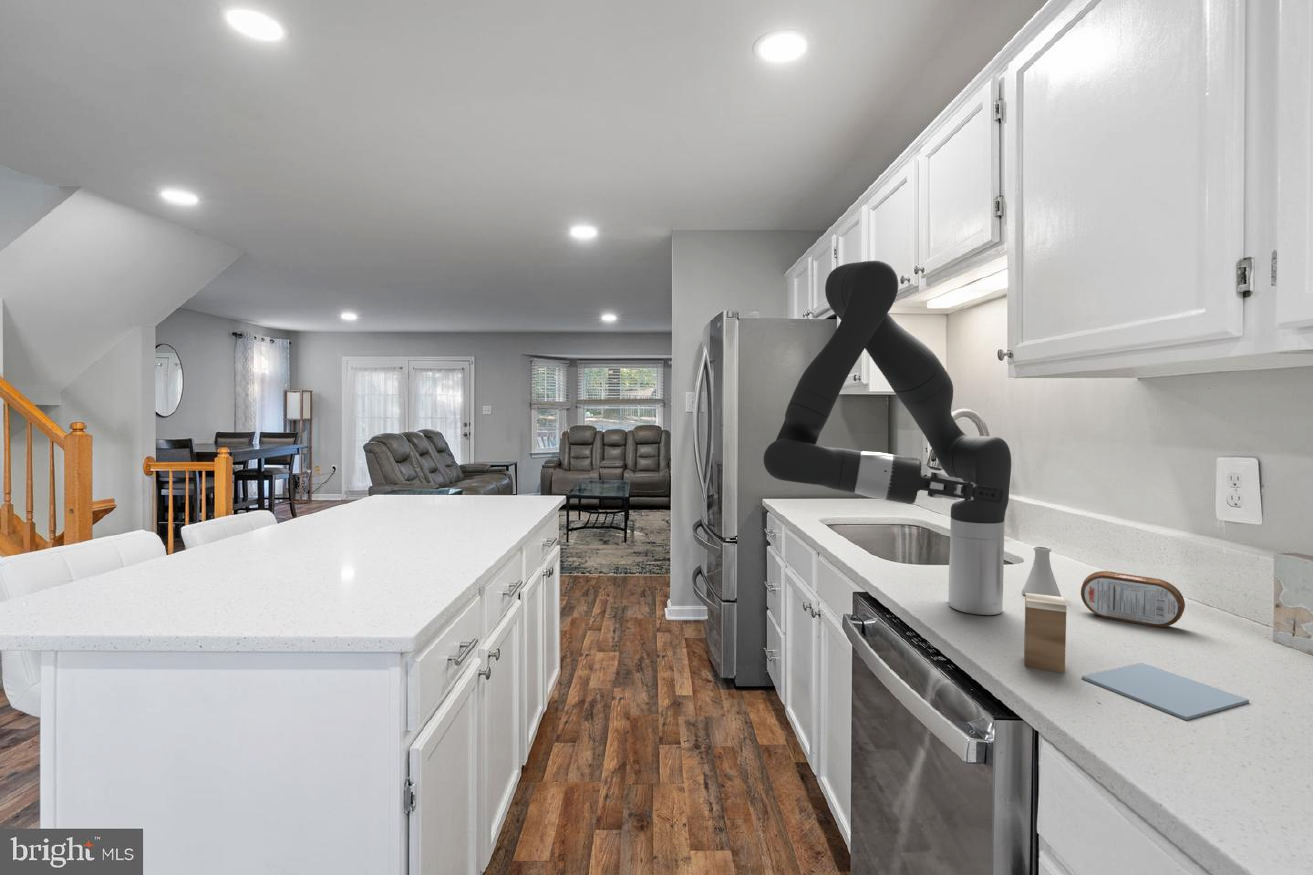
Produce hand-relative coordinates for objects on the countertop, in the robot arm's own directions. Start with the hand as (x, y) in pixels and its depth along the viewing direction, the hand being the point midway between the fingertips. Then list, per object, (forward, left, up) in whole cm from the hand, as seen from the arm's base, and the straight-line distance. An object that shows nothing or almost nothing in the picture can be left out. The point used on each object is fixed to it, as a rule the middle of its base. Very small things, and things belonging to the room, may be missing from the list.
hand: (995, 495), depth 99 cm
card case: (+5, +5, -25) cm, 26 cm away
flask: (-30, +27, -25) cm, 48 cm away
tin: (-14, +33, -25) cm, 44 cm away
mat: (+14, +15, -25) cm, 33 cm away
